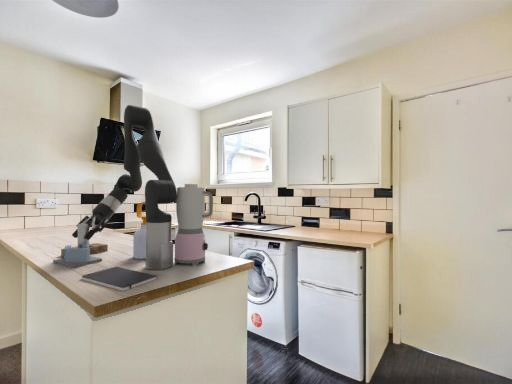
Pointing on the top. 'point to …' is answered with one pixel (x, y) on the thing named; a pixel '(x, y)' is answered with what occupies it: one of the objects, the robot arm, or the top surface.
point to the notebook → (119, 278)
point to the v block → (76, 257)
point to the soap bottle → (140, 236)
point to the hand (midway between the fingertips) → (79, 237)
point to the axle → (82, 231)
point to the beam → (93, 248)
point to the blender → (191, 224)
